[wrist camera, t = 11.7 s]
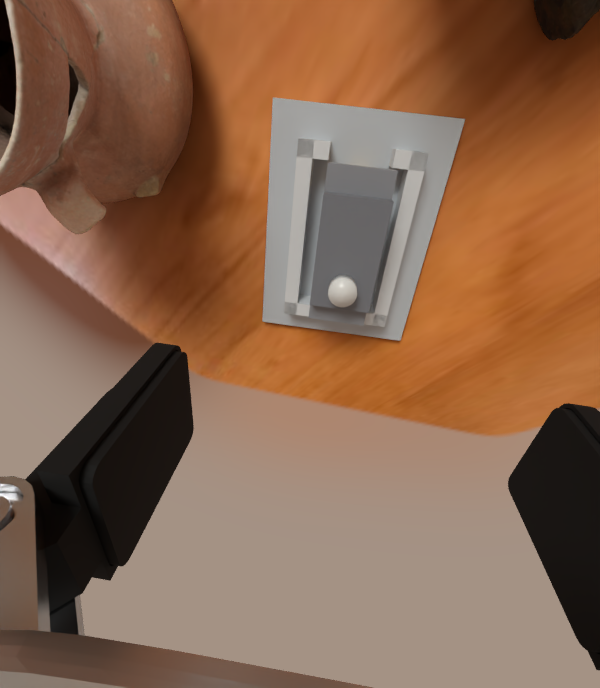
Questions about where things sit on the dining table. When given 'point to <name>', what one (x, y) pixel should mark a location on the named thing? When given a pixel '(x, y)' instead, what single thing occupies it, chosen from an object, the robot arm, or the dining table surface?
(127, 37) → the ceramic jug
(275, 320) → the pocket
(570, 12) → the hand tool
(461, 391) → the dining table surface
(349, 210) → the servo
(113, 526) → the robot arm
